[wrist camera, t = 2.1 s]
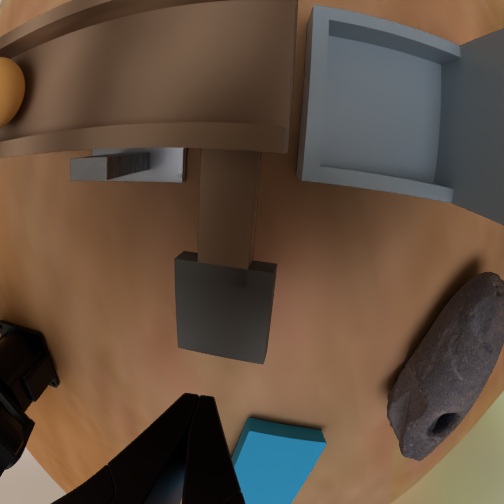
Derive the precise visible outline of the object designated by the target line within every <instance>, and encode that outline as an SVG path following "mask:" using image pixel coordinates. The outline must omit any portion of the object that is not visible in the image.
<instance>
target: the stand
mask: <svg viewBox="0 0 504 504" xmlns="http://www.w3.org/2000/svg"><path fill="white" fill-rule="evenodd" d="M186 155H187V148H168V147H146V148H106V149H92V156H88V157H80V158H72V159H70V172H71V181H79V180H92V181H146V182H177V183H182V182H185V178H186Z"/></svg>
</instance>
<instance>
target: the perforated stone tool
mask: <svg viewBox="0 0 504 504" xmlns="http://www.w3.org/2000/svg"><path fill="white" fill-rule="evenodd" d="M503 343H504V281H503V280H501V279H500V276H498V274H495V273H492V272H484V273H481V274H479V275H477V276H475V277H473V278H472V279H471V280H469V281H468V282H467V283H466V284H464V285H463V286H462V287H461V288H460V289H459V290H458V291H457V292H456V293H455V294H454V296H453V297H452V298H451V299H450V301H449V302H448V303H447V304H446V305H445V307H444V308H443V310H442V311H441V312H440V314H439V315H438V317H437V319H436V320H435V322H434V323H433V325H432V326H431V329H430V330H429V331H428V332H427V334H426V335H425V337H424V338H423V340H422V341H421V343H420V344H419V346H418V347H417V349H416V350H415V352H414V353H413V355H412V356H411V357H410V359H409V360H408V362H407V363H406V365H405V368H404V369H403V370H402V371H401V373H400V374H399V376H398V380H397V382H396V384H395V385H394V386H393V388H392V389H391V392H390V393H389V395H388V404H387V417H388V420H389V421H390V426H391V427H392V428H393V430H394V432H395V435H396V436H397V438H398V440H399V447H400V451H401V453H402V455H403V456H404V457H408V458H411V459H412V458H413V459H415V460H417V461H420V460H422V459H424V458H425V457H426V456H427V455H428V454H430V453H431V452H432V451H433V450H434V449H435V448H436V447H437V446H438V445H439V444H440V443H441V442H443V440H445V439H446V438H447V437H448V436H449V435H450V434H451V432H452V431H453V430H454V429H455V428H456V427H457V426H458V425H459V424H460V422H461V421H462V420H463V419H464V417H465V416H466V414H467V413H468V412H469V410H470V409H471V407H472V406H473V404H474V403H475V401H476V400H477V398H478V397H479V395H480V393H481V391H482V390H483V388H484V386H485V384H486V382H487V380H488V378H489V376H490V374H491V373H492V370H493V369H494V366H495V364H496V362H497V360H498V357H499V354H500V352H501V349H502V347H503Z"/></svg>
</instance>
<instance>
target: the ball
mask: <svg viewBox="0 0 504 504" xmlns="http://www.w3.org/2000/svg"><path fill="white" fill-rule="evenodd" d="M24 93H25V79H24V75H23V72H22V70H21V69H20V67H19V66H18V65H17V64H16V63H15V62H14V61H13V60H11V59H8V58H5V57H0V128H2V127H3V126H5V125H6V124H7V123H9V122H10V121H11V119H12V118H13V117H14V116H15V115H16V113H17V112H18V110H19V108H20V106H21V104H22V101H23V98H24Z"/></svg>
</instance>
